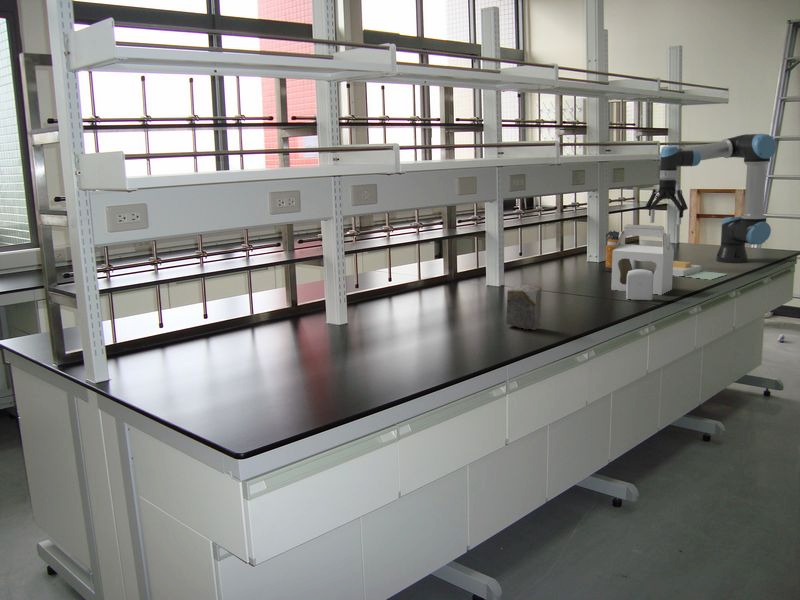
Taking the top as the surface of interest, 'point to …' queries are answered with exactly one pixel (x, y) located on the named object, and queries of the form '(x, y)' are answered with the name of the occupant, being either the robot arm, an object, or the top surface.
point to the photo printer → (639, 285)
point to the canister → (610, 248)
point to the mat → (706, 275)
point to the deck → (686, 270)
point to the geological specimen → (524, 307)
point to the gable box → (643, 258)
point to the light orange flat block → (681, 264)
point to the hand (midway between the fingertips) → (665, 223)
